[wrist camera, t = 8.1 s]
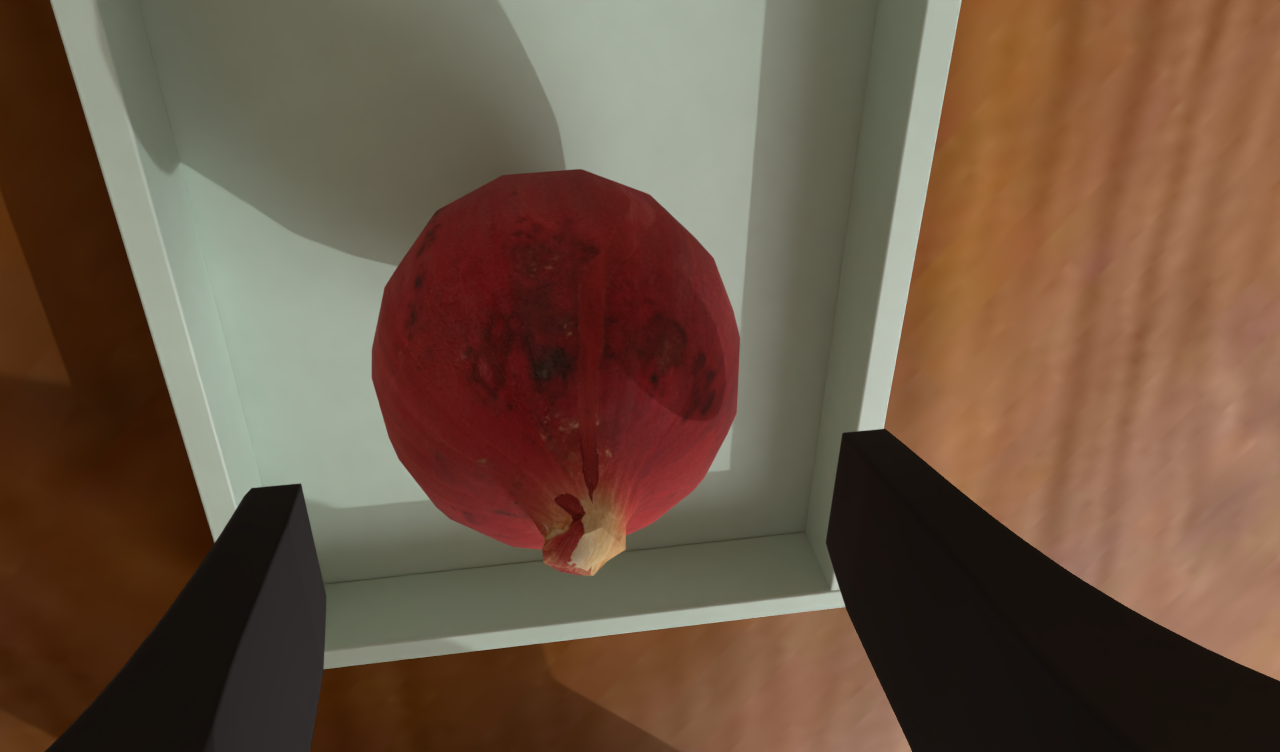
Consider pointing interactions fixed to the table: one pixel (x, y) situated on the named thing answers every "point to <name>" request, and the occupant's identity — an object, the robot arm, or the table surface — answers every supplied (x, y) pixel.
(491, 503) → the onion
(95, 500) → the table surface
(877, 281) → the tray
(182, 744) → the robot arm
